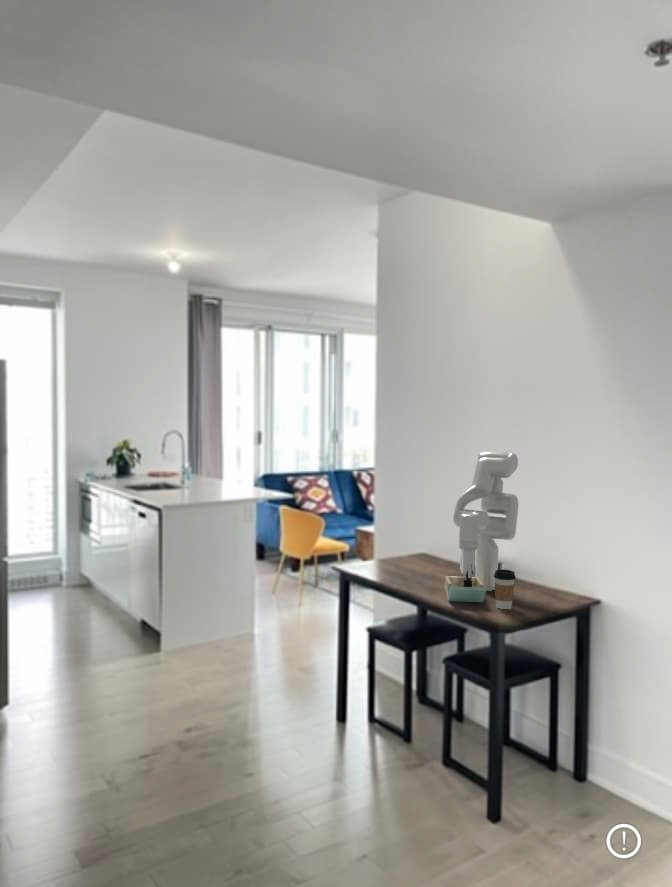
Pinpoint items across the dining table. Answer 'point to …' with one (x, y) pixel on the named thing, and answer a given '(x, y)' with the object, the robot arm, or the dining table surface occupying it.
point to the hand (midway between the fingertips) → (467, 589)
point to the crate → (459, 583)
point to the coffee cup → (504, 588)
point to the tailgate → (467, 594)
